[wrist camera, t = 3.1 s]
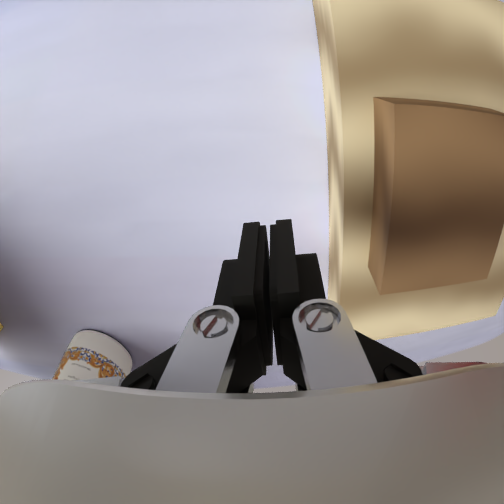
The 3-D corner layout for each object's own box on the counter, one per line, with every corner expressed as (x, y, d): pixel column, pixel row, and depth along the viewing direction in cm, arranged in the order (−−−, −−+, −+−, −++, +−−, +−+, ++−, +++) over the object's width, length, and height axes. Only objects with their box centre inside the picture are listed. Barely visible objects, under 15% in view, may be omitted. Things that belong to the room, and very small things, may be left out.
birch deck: (309, -16, 11) (322, -38, 8) (505, 21, 10) (544, 23, 7) (327, 305, 23) (335, 345, 20) (475, 284, 22) (495, 315, 19)
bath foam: (131, 338, 27) (71, 541, 10) (136, 376, 30) (93, 542, 14) (68, 319, 26) (-9, 498, 9) (80, 359, 30) (25, 512, 13)
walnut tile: (373, 96, 11) (394, 103, 9) (491, 108, 11) (520, 119, 9) (367, 266, 16) (379, 295, 14) (468, 255, 16) (486, 279, 14)
